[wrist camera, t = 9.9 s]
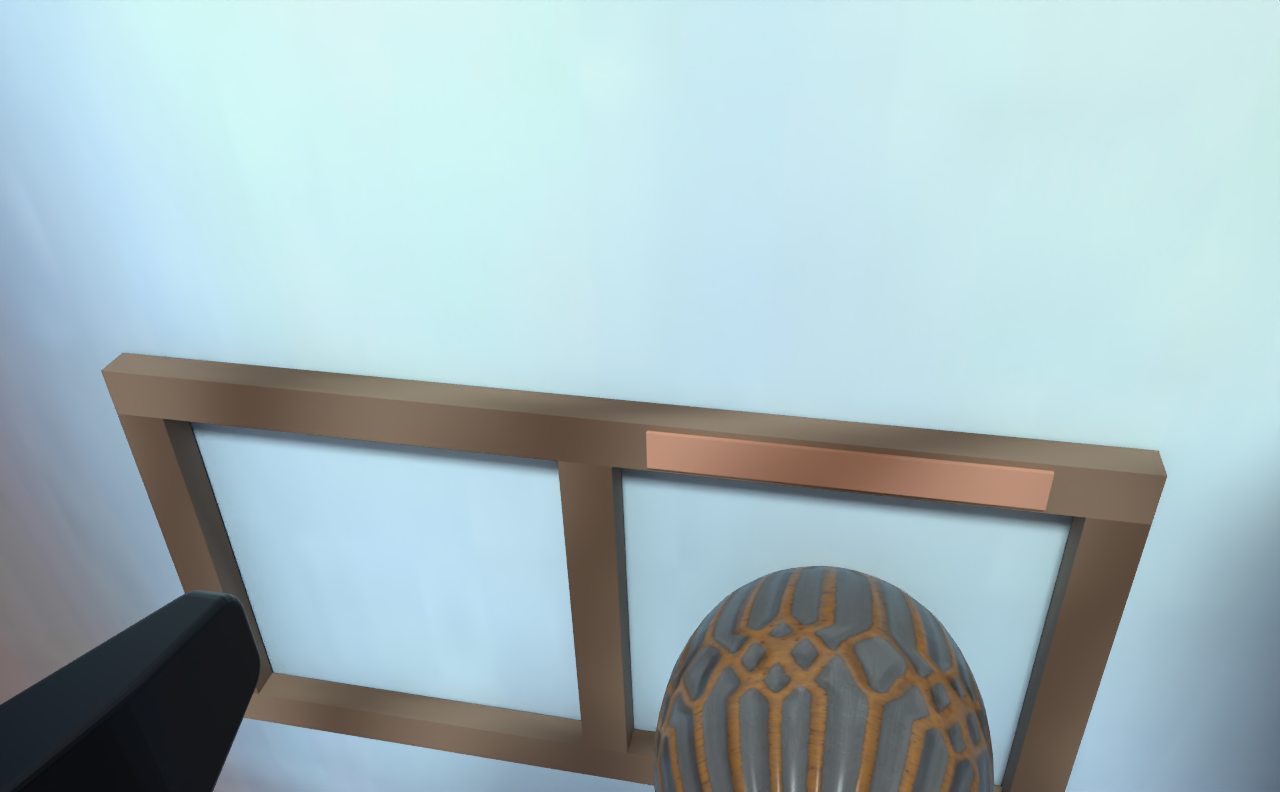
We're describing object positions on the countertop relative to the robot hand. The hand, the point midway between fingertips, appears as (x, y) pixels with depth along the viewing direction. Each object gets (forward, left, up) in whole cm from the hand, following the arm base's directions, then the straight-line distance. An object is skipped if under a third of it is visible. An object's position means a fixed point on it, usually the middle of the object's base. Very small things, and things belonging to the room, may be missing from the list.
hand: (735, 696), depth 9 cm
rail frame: (+5, +11, -12) cm, 17 cm away
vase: (-1, +12, -12) cm, 17 cm away
